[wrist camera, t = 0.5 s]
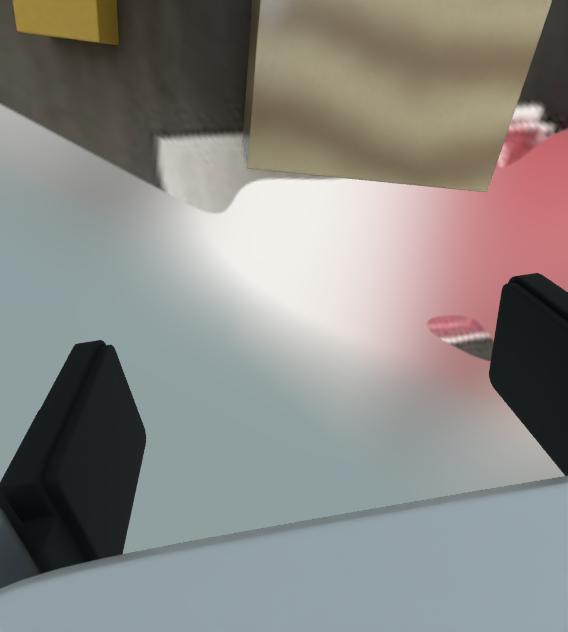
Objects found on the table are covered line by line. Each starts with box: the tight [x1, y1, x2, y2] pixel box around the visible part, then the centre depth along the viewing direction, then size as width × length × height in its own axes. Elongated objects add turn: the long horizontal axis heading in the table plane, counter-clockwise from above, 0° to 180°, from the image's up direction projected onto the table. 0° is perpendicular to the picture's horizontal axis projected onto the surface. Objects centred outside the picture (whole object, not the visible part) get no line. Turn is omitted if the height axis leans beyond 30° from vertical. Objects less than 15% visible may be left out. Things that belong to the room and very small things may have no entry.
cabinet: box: [242, 0, 552, 192], centre depth 28 cm, size 15×16×10 cm
